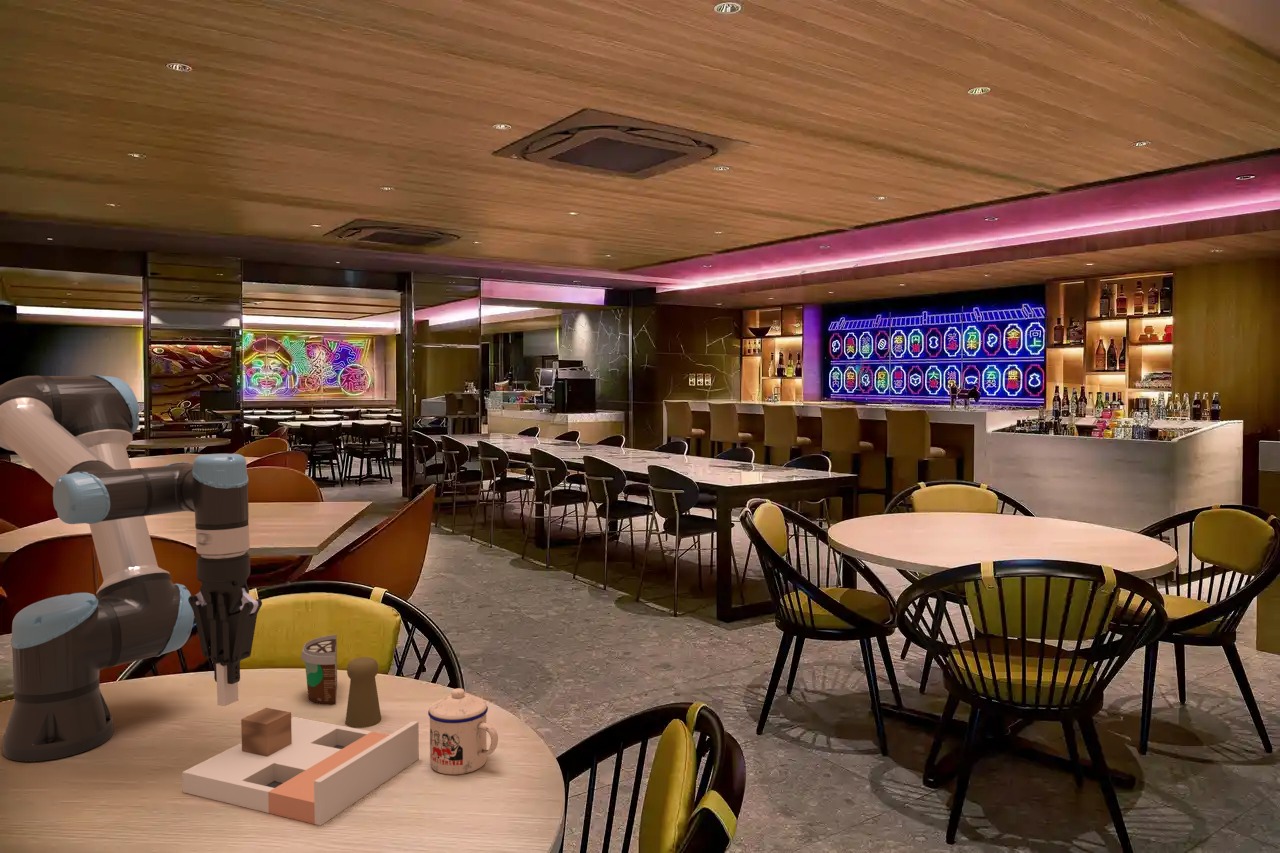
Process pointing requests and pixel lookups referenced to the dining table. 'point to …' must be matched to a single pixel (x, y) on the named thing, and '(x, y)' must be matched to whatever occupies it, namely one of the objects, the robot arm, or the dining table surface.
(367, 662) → the cork
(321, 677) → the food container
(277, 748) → the walnut block
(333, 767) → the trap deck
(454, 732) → the teacup with lid
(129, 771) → the dining table surface
